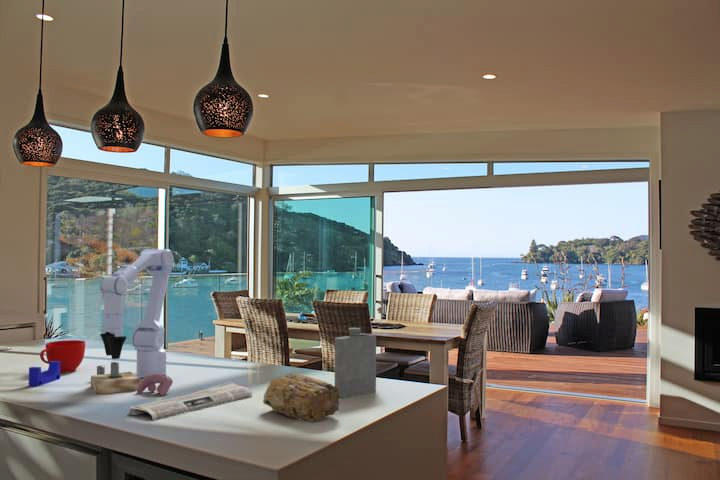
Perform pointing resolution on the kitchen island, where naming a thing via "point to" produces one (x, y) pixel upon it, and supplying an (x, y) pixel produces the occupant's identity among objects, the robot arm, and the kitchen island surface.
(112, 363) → the long pin
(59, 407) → the kitchen island surface
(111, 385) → the bore block
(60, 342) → the ceramic cup
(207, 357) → the kitchen island surface
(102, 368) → the short pin
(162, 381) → the pink textured arched piece
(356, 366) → the hip flask
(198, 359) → the kitchen island surface
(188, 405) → the newspaper
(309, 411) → the petrified wood
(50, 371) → the cable clip
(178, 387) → the kitchen island surface
